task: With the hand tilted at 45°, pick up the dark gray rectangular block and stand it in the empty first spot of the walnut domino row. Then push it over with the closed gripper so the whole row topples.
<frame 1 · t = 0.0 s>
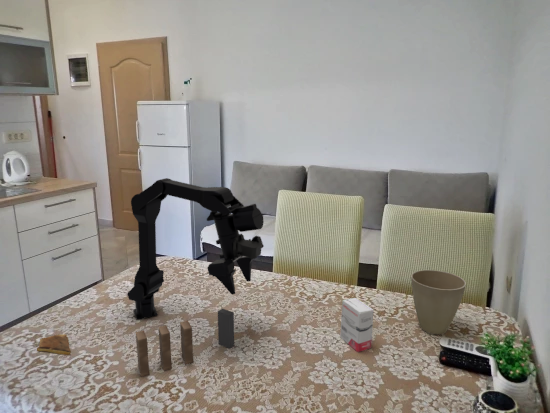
hand: (241, 287, 112), 15 cm above the table, tool pointing down, fingers open, 9 cm apart
plant pot: (432, 328, 122), on the table
domino 4: (143, 371, 100), on the table
domino 2: (187, 359, 105), on the table
domino 3: (166, 365, 103), on the table
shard: (60, 347, 111), on the table
dark gray rectangular block: (226, 344, 112), on the table
ink box: (355, 343, 114), on the table
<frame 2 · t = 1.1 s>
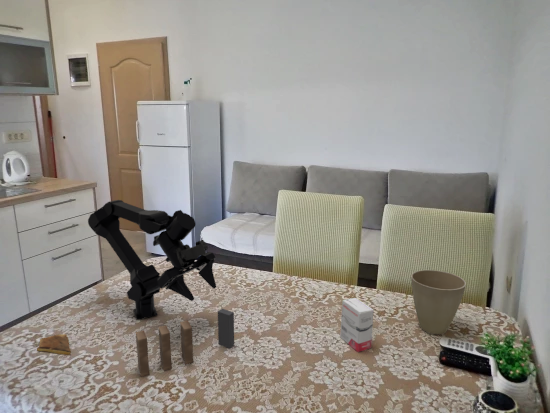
hand: (204, 293, 113), 13 cm above the table, tool tilted 45°, fingers open, 9 cm apart
nothing on the table moved.
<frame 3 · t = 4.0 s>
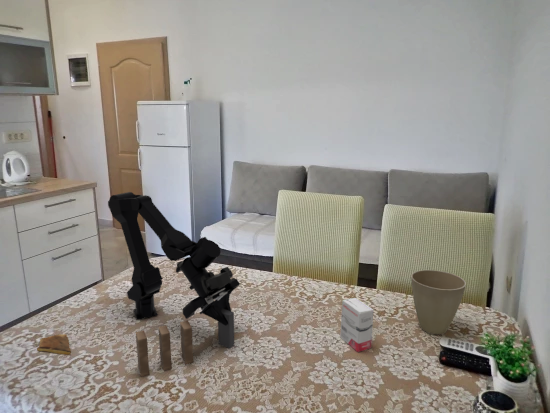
hand: (229, 322, 110), 7 cm above the table, tool tilted 45°, fingers closed on dark gray rectangular block, 2 cm apart
dark gray rectangular block: (226, 344, 112), on the table, touching gripper
everything else where it was.
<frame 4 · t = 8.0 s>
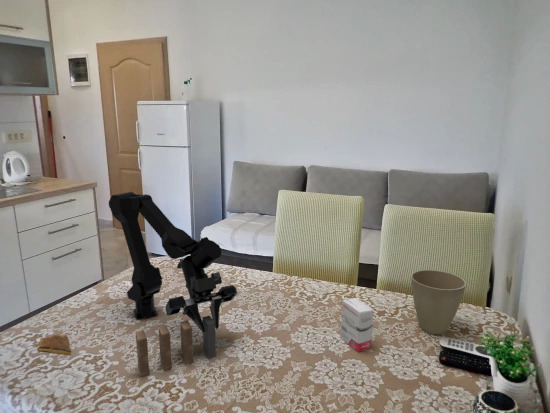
hand: (210, 330, 105), 8 cm above the table, tool tilted 45°, fingers open, 3 cm apart
dark gray rectangular block: (209, 353, 108), on the table
everything else where it was.
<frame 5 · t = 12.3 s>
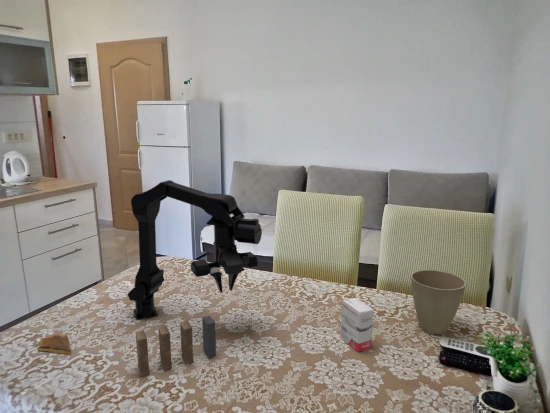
hand: (225, 291, 117), 12 cm above the table, tool pointing down, fingers open, 3 cm apart
nothing on the table moved.
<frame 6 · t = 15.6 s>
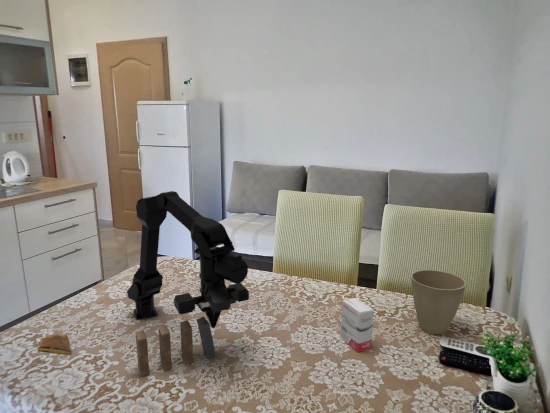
hand: (213, 327, 107), 7 cm above the table, tool pointing down, fingers closed
dark gray rectangular block: (209, 353, 108), on the table, tilted 9°
everything else where it was.
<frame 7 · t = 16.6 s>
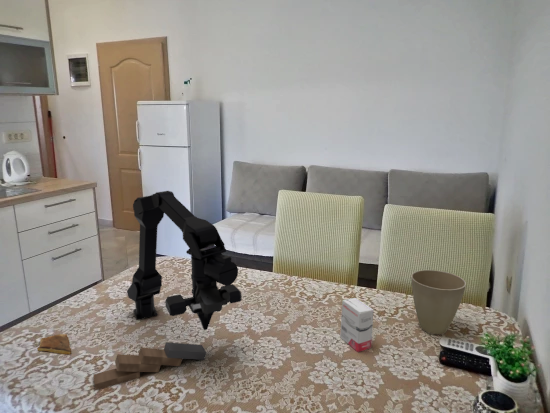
hand: (205, 329, 106), 7 cm above the table, tool pointing down, fingers closed
domino 4: (138, 370, 99), point 1 cm above the table, tilted 90°, touching domino 3
domino 2: (179, 358, 104), point 1 cm above the table, tilted 68°, touching dark gray rectangular block, domino 3
domino 3: (157, 364, 102), point 1 cm above the table, tilted 70°, touching domino 2, domino 4
dark gray rectangular block: (203, 352, 107), point 1 cm above the table, tilted 70°, touching domino 2
everything else where it was.
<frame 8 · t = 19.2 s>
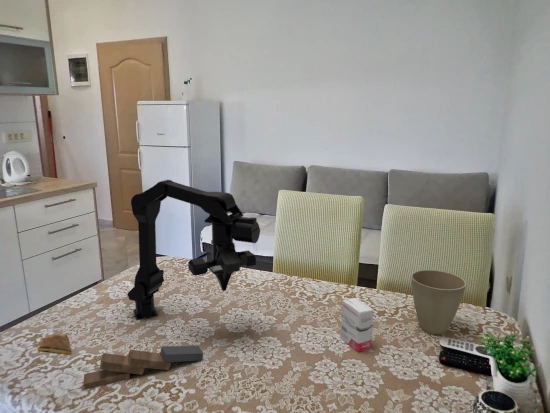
hand: (223, 290, 116), 13 cm above the table, tool pointing down, fingers closed
domino 4: (129, 372, 99), on the table, tilted 90°, touching domino 3
domino 2: (169, 362, 102), point 1 cm above the table, tilted 69°, touching dark gray rectangular block, domino 3
domino 3: (143, 366, 100), point 1 cm above the table, tilted 69°, touching domino 2, domino 4
at the end: domino 4 tilted 90°; dark gray rectangular block inside the target area (1.7 cm from its centre), point 1.0 cm above the table; dark gray rectangular block tilted 74° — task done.
